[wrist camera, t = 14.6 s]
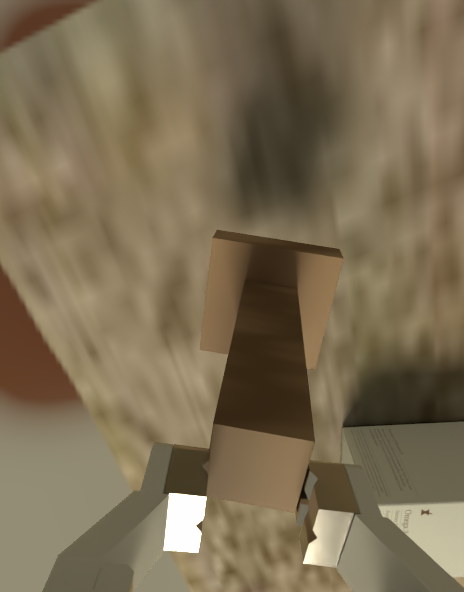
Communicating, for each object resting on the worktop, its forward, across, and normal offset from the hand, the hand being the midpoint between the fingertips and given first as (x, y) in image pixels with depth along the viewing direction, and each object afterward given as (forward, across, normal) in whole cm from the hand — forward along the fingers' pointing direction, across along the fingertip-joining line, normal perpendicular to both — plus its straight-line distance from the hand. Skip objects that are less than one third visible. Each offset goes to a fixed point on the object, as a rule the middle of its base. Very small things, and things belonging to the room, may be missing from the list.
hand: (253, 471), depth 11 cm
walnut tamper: (+11, -1, -1) cm, 11 cm away
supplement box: (+14, -10, +15) cm, 23 cm away
